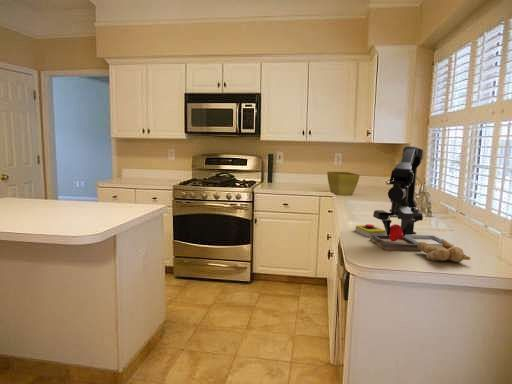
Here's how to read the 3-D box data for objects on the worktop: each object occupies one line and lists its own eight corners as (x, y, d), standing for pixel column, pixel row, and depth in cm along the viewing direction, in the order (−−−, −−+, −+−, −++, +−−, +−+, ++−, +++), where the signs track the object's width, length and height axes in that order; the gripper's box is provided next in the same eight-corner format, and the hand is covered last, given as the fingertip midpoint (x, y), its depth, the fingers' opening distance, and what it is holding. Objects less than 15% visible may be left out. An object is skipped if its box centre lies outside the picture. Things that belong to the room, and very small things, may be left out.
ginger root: (475, 266, 129) (471, 243, 128) (425, 271, 133) (421, 248, 133) (463, 254, 143) (460, 234, 143) (419, 259, 148) (415, 239, 148)
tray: (402, 237, 168) (403, 234, 168) (433, 238, 170) (433, 235, 169) (420, 247, 154) (420, 243, 154) (453, 248, 155) (453, 244, 155)
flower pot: (358, 195, 292) (360, 174, 290) (337, 196, 287) (338, 174, 284) (345, 192, 310) (347, 172, 308) (325, 192, 304) (326, 171, 302)
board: (370, 240, 162) (370, 234, 161) (403, 240, 163) (403, 235, 163) (385, 250, 147) (385, 244, 146) (421, 251, 148) (422, 245, 148)
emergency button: (369, 221, 181) (390, 229, 167) (369, 230, 181) (389, 238, 167) (353, 222, 178) (372, 230, 164) (352, 231, 178) (371, 239, 164)
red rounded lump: (388, 228, 160) (384, 223, 155) (402, 225, 157) (399, 220, 152) (391, 245, 156) (387, 241, 151) (406, 243, 153) (402, 238, 149)
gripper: (386, 201, 143) (382, 240, 146) (432, 202, 145) (428, 241, 147) (374, 196, 154) (371, 233, 157) (417, 197, 156) (413, 234, 158)
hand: (395, 235), depth 154 cm, fingers closed on red rounded lump, 6 cm apart
